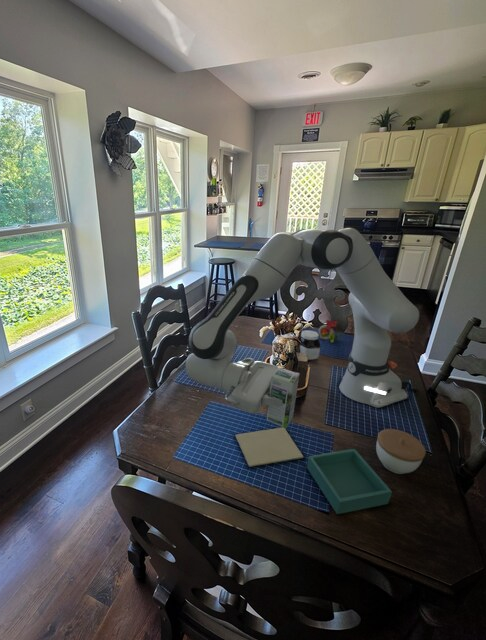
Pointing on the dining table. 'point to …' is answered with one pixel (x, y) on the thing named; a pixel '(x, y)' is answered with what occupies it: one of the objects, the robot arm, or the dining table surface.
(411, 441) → the trinket box
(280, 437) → the felt mat
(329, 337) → the bird rattle
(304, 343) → the spread jar
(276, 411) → the syrup box
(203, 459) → the dining table surface
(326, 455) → the teal green tray
